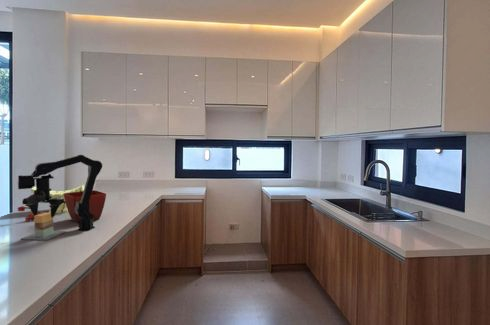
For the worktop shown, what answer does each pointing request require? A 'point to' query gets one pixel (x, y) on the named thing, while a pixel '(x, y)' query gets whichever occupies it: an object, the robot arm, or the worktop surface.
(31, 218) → the toy fire truck
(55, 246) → the worktop surface
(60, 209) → the slatted curved stool
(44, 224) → the walnut brick
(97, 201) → the plant pot
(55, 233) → the baseplate
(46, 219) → the orange brick
